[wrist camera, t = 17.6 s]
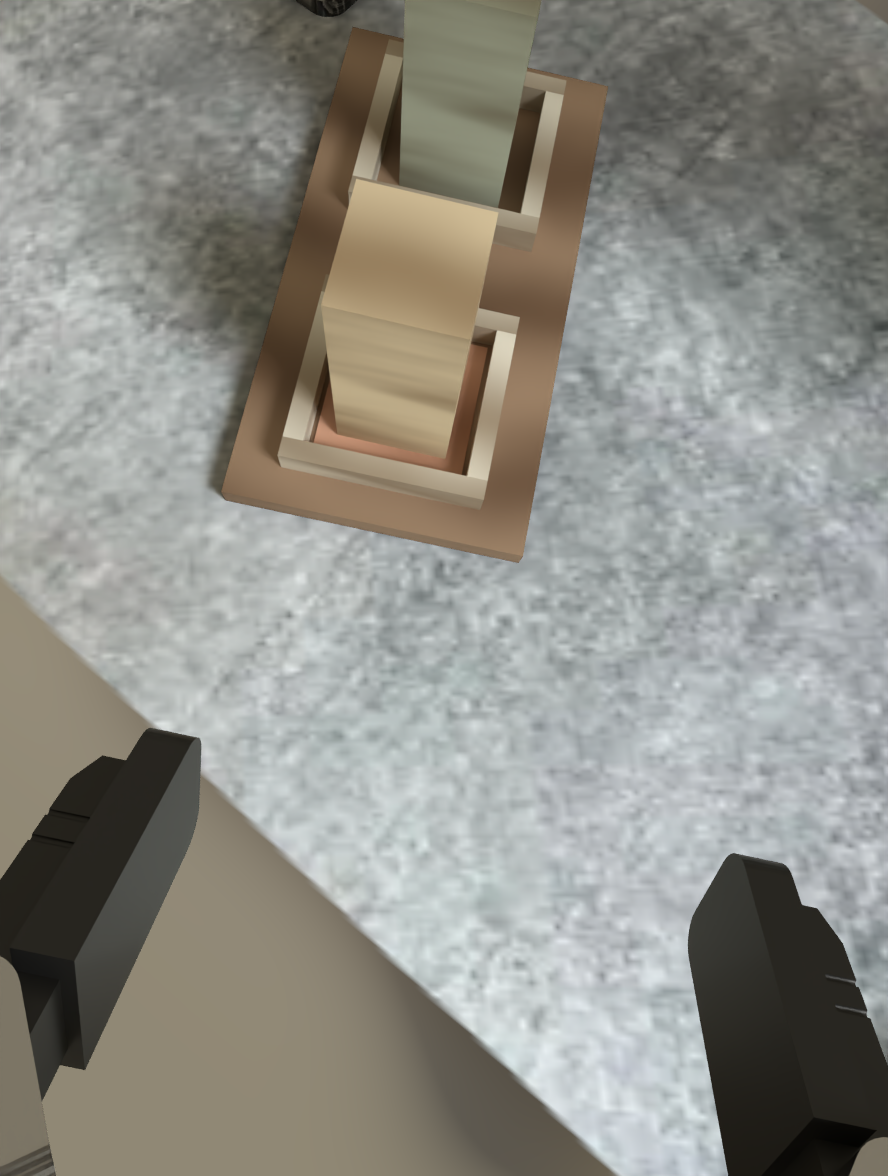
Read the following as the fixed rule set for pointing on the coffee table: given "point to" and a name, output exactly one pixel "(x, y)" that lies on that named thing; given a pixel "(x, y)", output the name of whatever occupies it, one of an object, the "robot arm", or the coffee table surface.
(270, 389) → the baseboard
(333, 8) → the phone
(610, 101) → the coffee table surface
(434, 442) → the maple block
